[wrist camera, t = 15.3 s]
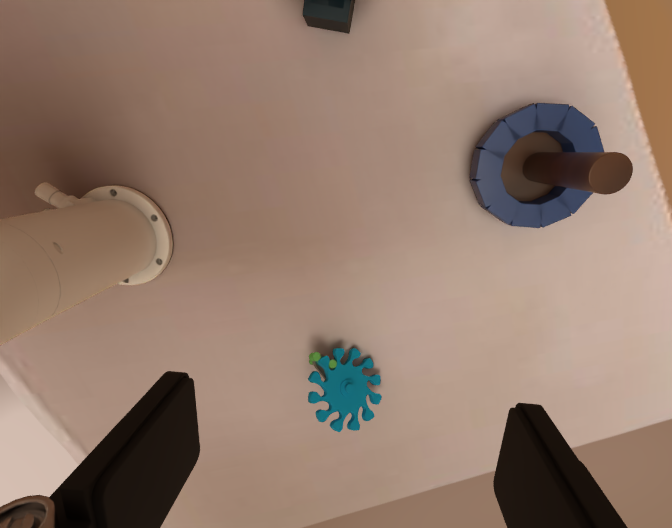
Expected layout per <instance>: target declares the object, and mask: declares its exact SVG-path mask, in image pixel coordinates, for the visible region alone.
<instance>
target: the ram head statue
mask: <svg viewBox="0 0 672 528" xmlns="http://www.w3.org/2000/svg"><path fill="white" fill-rule="evenodd" d="M354 3H355V0H304V8H303V17H304V19H305V21H306V23H307V25H308V26H311V27H317V28H322V29H328V30H333V31H339V32H344V33H349V32H350V26H351V20H352V15H353V9H354Z"/></svg>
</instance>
